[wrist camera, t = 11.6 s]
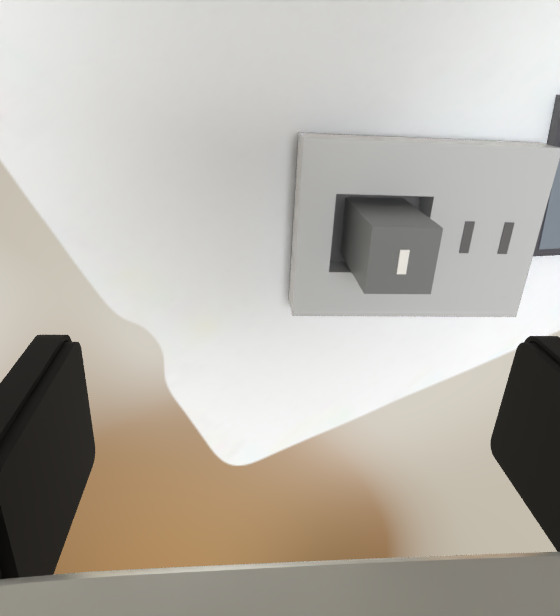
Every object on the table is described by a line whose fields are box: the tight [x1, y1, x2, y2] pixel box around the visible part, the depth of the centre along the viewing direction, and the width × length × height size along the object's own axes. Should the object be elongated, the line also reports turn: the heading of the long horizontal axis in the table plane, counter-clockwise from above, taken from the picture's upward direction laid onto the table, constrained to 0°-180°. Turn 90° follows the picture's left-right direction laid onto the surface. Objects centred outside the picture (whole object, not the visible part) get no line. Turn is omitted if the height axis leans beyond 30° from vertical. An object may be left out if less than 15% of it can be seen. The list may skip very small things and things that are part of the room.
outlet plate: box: [289, 133, 560, 317], centre depth 38 cm, size 13×18×3 cm
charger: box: [340, 197, 443, 294], centre depth 35 cm, size 4×4×8 cm
